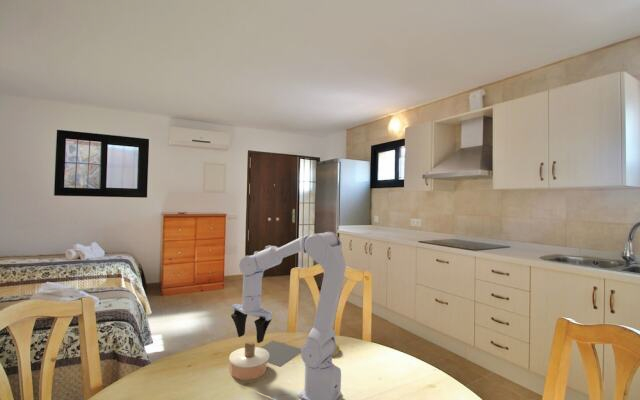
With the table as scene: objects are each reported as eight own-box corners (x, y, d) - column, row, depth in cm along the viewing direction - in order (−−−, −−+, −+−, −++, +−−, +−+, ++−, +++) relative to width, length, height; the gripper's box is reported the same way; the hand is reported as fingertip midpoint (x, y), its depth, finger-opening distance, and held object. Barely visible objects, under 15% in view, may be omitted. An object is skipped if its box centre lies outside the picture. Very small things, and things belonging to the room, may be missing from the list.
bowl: (273, 368, 102) (273, 355, 102) (249, 384, 92) (249, 370, 92) (247, 359, 107) (247, 347, 107) (222, 373, 98) (222, 360, 98)
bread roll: (327, 360, 108) (327, 348, 108) (310, 351, 115) (310, 339, 115) (345, 353, 114) (345, 342, 114) (327, 344, 121) (328, 334, 121)
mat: (304, 351, 114) (304, 349, 114) (280, 367, 102) (280, 366, 102) (272, 341, 121) (272, 340, 121) (246, 356, 109) (246, 354, 109)
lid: (277, 354, 102) (277, 341, 102) (251, 371, 92) (252, 357, 92) (247, 345, 108) (248, 333, 108) (220, 360, 98) (221, 346, 98)
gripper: (278, 295, 100) (277, 339, 100) (243, 287, 107) (241, 329, 107) (264, 301, 94) (262, 348, 94) (227, 292, 101) (225, 336, 101)
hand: (250, 338), depth 100 cm, fingers open, 7 cm apart
